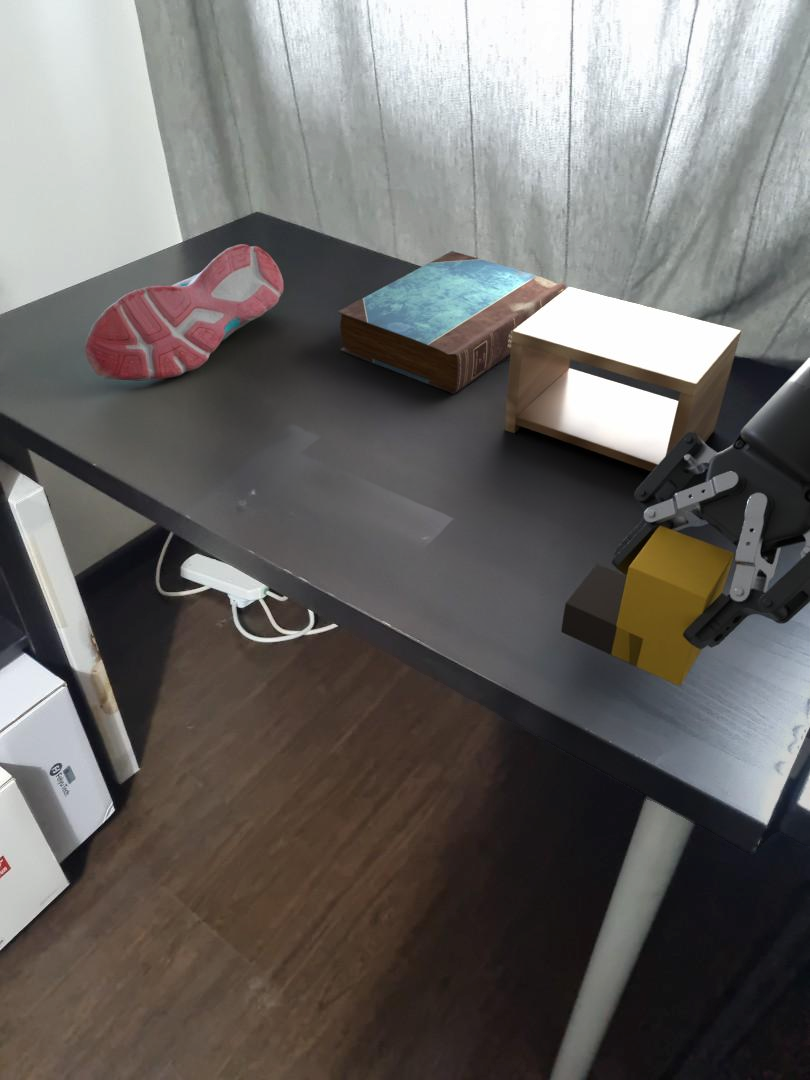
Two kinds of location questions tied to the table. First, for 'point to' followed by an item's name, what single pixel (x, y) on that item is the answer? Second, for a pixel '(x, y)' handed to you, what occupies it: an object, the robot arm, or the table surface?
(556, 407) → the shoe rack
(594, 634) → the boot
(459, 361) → the book
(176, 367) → the athletic shoe
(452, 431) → the table surface
